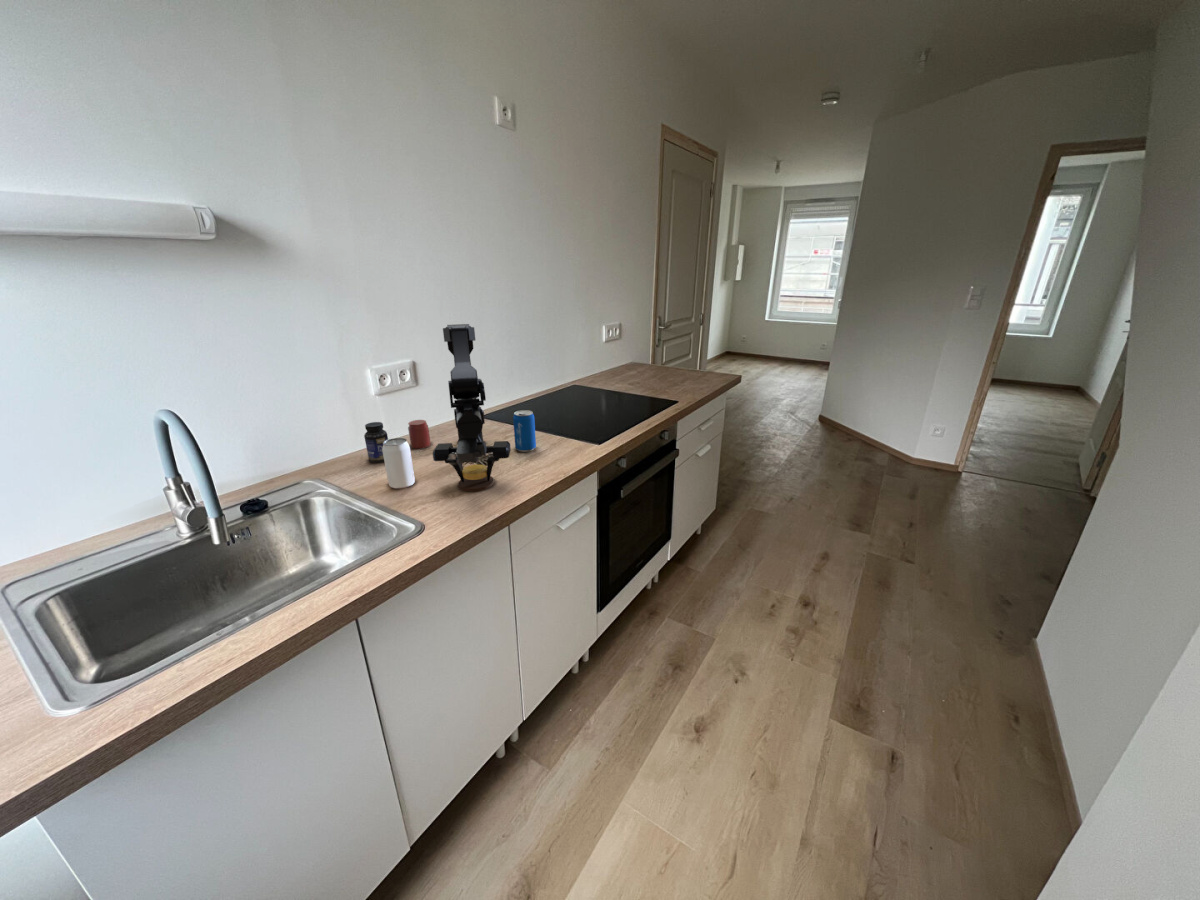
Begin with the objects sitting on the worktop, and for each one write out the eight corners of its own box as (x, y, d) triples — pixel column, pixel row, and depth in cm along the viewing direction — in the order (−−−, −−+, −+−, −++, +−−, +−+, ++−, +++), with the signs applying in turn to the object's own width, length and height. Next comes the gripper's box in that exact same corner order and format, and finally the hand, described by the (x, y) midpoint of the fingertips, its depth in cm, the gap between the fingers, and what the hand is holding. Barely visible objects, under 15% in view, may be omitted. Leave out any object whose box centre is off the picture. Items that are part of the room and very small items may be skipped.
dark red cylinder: (428, 440, 150) (425, 418, 147) (432, 446, 145) (429, 423, 142) (409, 444, 147) (405, 421, 144) (413, 450, 142) (409, 426, 140)
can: (389, 491, 115) (380, 447, 111) (389, 481, 121) (381, 439, 117) (416, 486, 118) (408, 443, 113) (414, 477, 123) (408, 435, 119)
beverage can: (511, 451, 141) (508, 414, 137) (522, 444, 147) (519, 408, 142) (529, 454, 139) (527, 416, 135) (539, 447, 145) (537, 411, 140)
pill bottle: (382, 463, 132) (376, 428, 128) (364, 462, 133) (357, 426, 129) (395, 456, 138) (389, 421, 134) (378, 454, 139) (371, 420, 135)
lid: (466, 481, 114) (465, 476, 114) (460, 472, 120) (459, 467, 119) (491, 476, 117) (490, 471, 117) (483, 468, 123) (483, 462, 122)
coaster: (487, 474, 125) (487, 471, 125) (498, 486, 118) (498, 483, 118) (454, 481, 121) (454, 478, 120) (464, 494, 114) (463, 491, 113)
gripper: (423, 436, 105) (432, 496, 111) (504, 433, 107) (509, 492, 112) (434, 422, 115) (442, 477, 121) (508, 419, 117) (512, 474, 123)
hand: (476, 480), depth 119 cm, fingers closed on lid, 6 cm apart
